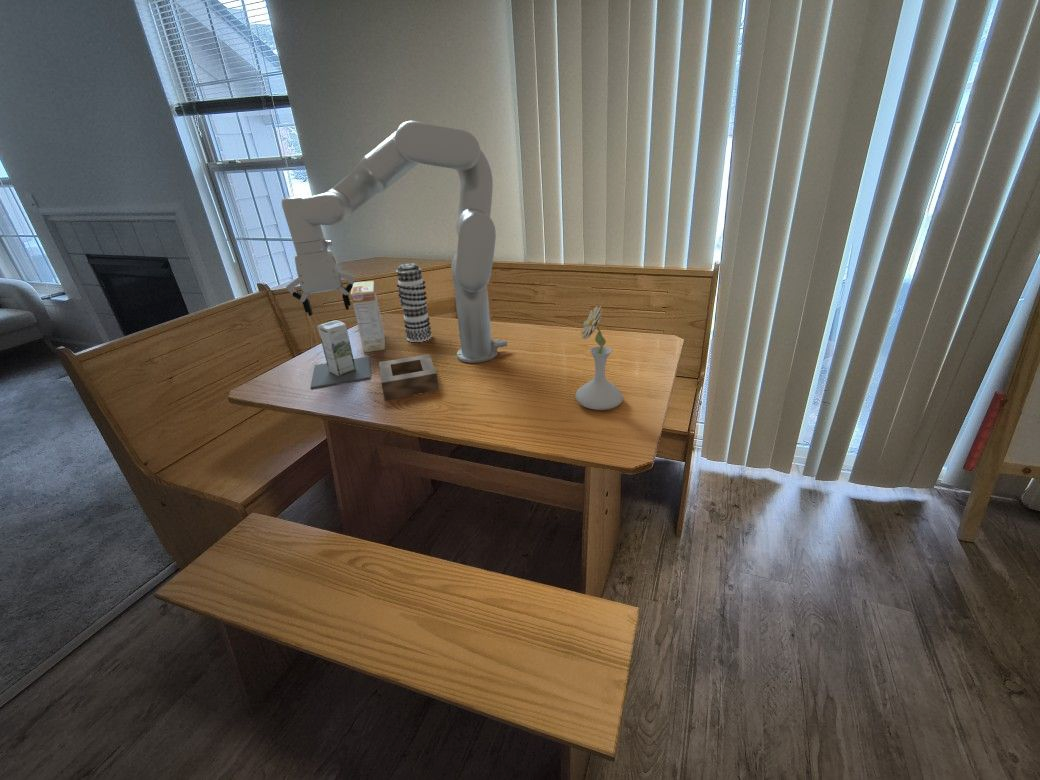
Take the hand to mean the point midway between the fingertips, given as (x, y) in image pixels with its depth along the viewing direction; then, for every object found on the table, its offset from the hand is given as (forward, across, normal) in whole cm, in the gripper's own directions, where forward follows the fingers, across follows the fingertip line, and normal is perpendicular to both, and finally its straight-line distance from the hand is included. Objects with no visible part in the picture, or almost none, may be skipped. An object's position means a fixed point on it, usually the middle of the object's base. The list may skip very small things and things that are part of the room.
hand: (329, 311), depth 124 cm
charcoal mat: (+18, +1, 0) cm, 19 cm away
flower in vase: (+21, -59, +46) cm, 77 cm away
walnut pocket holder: (+19, -17, +16) cm, 30 cm away
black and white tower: (+20, -24, -19) cm, 36 cm away
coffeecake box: (+19, -9, -21) cm, 30 cm away
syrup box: (+18, +1, 0) cm, 18 cm away
